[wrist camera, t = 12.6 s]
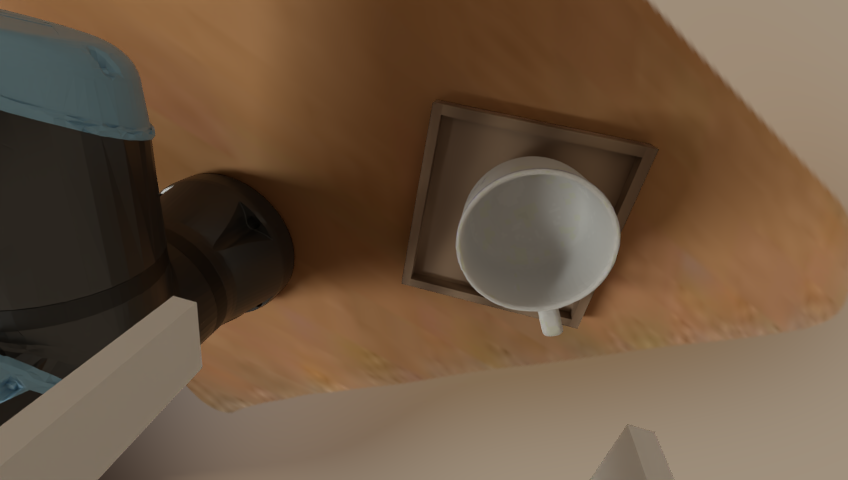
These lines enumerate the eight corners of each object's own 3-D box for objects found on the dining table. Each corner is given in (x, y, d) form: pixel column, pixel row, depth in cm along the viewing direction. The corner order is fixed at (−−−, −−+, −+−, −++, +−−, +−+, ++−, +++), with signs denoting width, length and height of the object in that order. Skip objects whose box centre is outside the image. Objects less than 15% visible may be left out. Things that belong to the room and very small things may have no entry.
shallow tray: (405, 274, 39) (401, 283, 38) (436, 99, 32) (432, 102, 30) (574, 317, 38) (577, 328, 36) (650, 144, 30) (658, 149, 28)
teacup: (461, 148, 32) (449, 175, 25) (602, 139, 30) (631, 165, 23) (471, 291, 38) (463, 346, 31) (590, 292, 36) (610, 352, 29)
